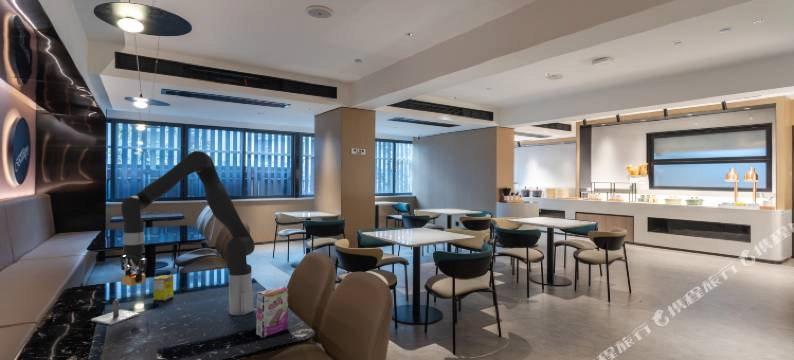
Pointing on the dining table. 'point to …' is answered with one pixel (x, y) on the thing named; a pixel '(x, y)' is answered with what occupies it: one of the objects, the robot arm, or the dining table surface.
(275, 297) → the candy bar box
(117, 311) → the keeper
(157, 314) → the dining table surface
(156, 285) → the supplement box
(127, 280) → the link
